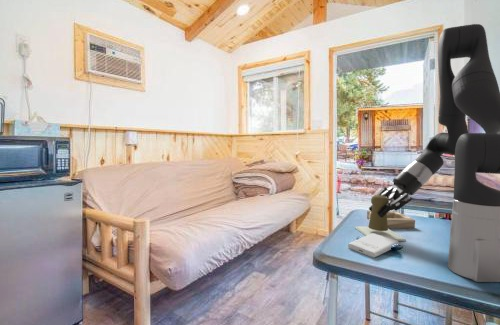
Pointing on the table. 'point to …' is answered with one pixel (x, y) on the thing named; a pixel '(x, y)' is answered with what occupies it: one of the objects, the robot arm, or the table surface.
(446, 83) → the robot arm
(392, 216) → the holder
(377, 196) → the cork
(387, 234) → the mat
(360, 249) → the external hard drive
